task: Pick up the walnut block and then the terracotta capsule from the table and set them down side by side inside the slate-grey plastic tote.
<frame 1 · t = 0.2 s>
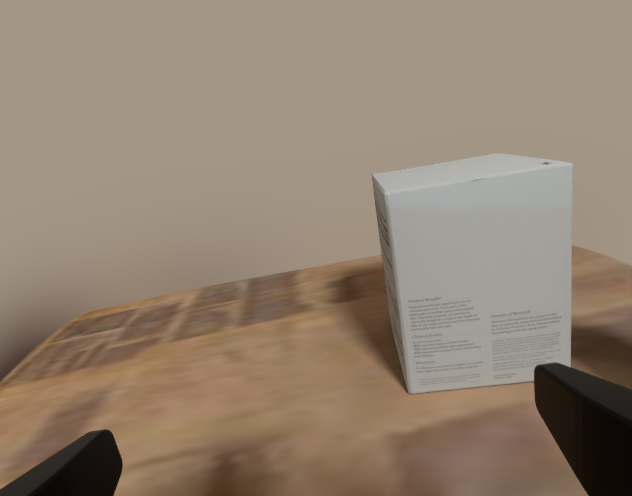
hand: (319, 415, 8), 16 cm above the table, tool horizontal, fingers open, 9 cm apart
supplement box: (464, 347, 38), on the table
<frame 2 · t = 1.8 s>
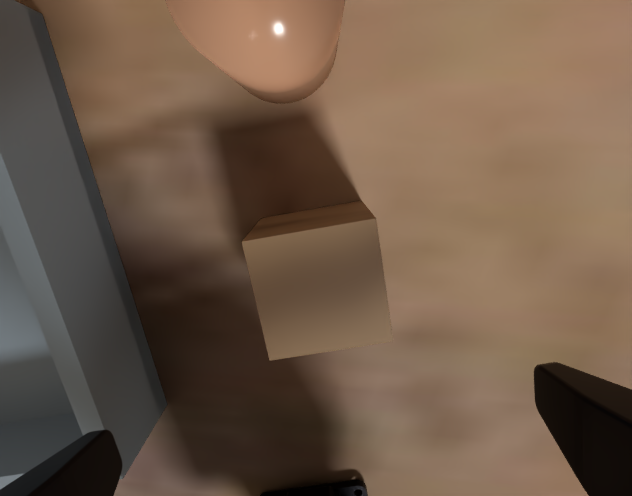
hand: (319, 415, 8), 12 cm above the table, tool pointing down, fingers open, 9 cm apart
terracotta capsule: (280, 43, 17), on the table
walnut block: (319, 257, 19), on the table
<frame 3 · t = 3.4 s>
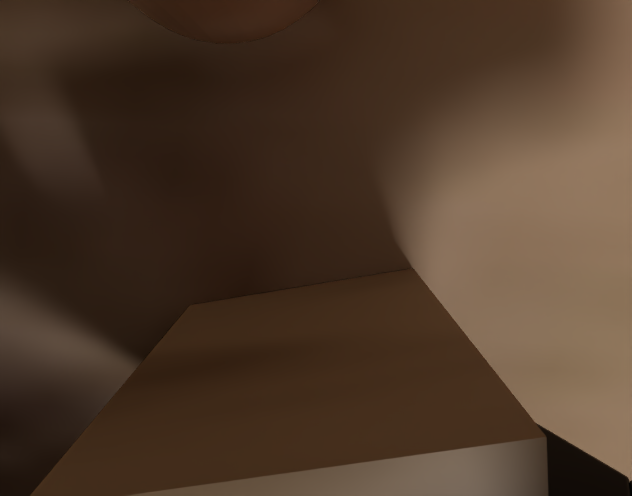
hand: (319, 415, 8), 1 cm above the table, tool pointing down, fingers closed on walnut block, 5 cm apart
walnut block: (319, 385, 9), on the table, touching gripper
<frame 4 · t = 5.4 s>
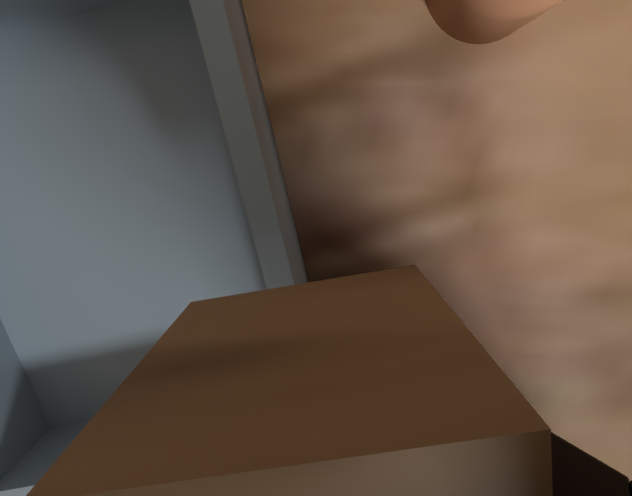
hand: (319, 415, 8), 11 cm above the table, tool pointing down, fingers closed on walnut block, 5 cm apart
tote: (128, 232, 18), on the table
walnut block: (320, 382, 9), point 10 cm above the table, touching gripper
when the fingers open (3 cm above the table, at t = 7.7 s): walnut block drops 1 cm, resting on tote.
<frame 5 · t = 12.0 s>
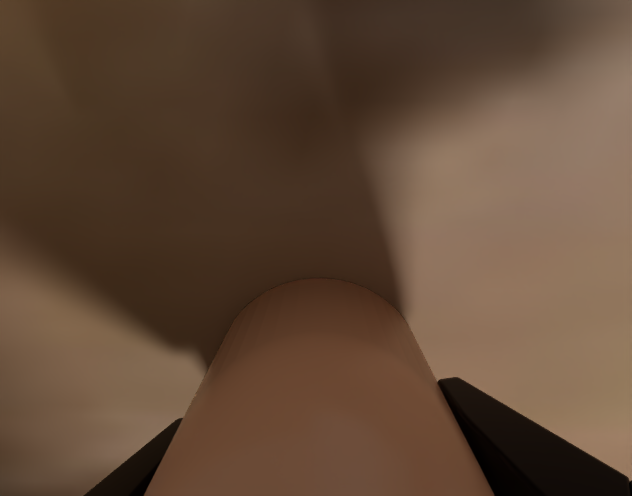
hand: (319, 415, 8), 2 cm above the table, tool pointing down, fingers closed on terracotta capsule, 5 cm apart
terracotta capsule: (319, 373, 9), on the table, touching gripper
when the fingers open (4 cm above the table, at t = 16.3 s): terracotta capsule drops 1 cm, resting on tote.
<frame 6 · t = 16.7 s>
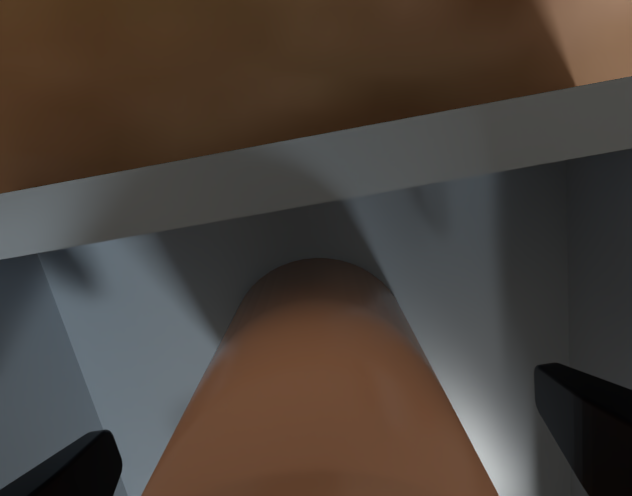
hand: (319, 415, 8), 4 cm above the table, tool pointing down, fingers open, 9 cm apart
tote: (341, 447, 13), on the table
terracotta capsule: (319, 342, 11), point 1 cm above the table, touching tote
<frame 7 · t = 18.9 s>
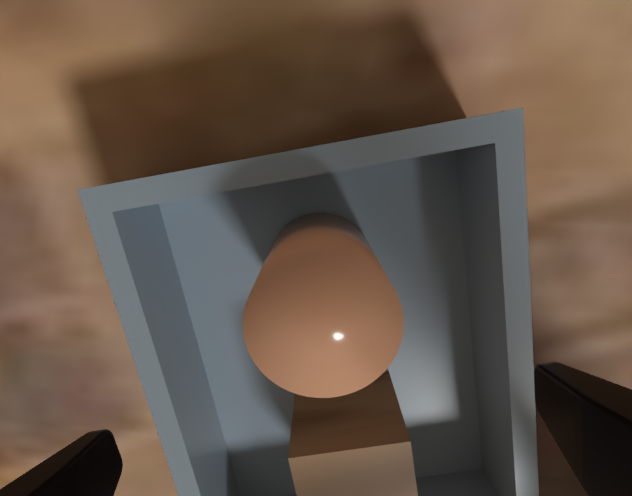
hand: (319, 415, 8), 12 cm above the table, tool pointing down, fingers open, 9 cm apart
tote: (334, 337, 21), on the table
terracotta capsule: (320, 263, 19), point 1 cm above the table, touching tote
walnut block: (349, 417, 21), point 1 cm above the table, touching tote
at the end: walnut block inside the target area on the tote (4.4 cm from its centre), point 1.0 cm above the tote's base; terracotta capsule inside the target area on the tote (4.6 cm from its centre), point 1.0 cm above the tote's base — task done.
